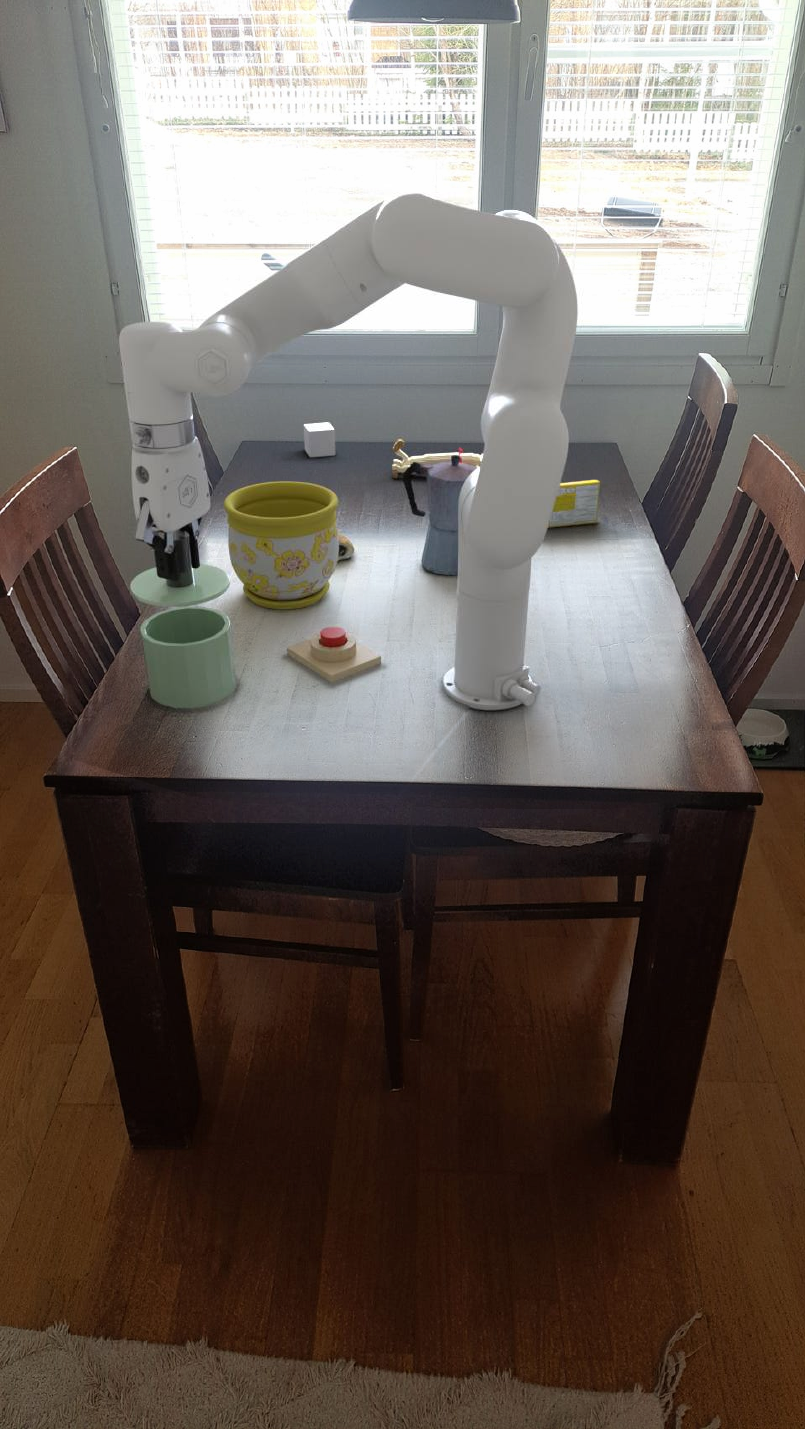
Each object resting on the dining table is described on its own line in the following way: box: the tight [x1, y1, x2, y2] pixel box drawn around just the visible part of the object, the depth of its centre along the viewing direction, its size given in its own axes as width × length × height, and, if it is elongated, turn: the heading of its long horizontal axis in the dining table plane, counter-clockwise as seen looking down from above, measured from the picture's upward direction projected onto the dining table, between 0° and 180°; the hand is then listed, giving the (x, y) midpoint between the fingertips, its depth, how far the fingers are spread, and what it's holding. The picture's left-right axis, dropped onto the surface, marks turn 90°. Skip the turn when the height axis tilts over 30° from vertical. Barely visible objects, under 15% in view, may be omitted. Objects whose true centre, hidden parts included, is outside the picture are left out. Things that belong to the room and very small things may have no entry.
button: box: [319, 626, 346, 648], centre depth 146 cm, size 4×4×2 cm
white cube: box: [303, 422, 336, 458], centre depth 233 cm, size 6×6×6 cm
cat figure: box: [391, 439, 483, 479], centre depth 218 cm, size 10×9×25 cm
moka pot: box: [402, 455, 477, 576], centre depth 173 cm, size 10×15×20 cm, turn 78°
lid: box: [129, 530, 231, 608], centre depth 131 cm, size 13×13×8 cm
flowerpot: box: [223, 480, 339, 611], centre depth 164 cm, size 18×18×16 cm
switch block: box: [286, 631, 382, 683], centre depth 147 cm, size 11×9×4 cm
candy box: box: [547, 479, 601, 529], centre depth 193 cm, size 16×2×8 cm, turn 105°
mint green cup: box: [139, 606, 237, 709], centre depth 138 cm, size 12×12×10 cm
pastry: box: [337, 533, 355, 562], centre depth 182 cm, size 9×7×4 cm
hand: (178, 571), depth 131 cm, fingers closed on lid, 3 cm apart
